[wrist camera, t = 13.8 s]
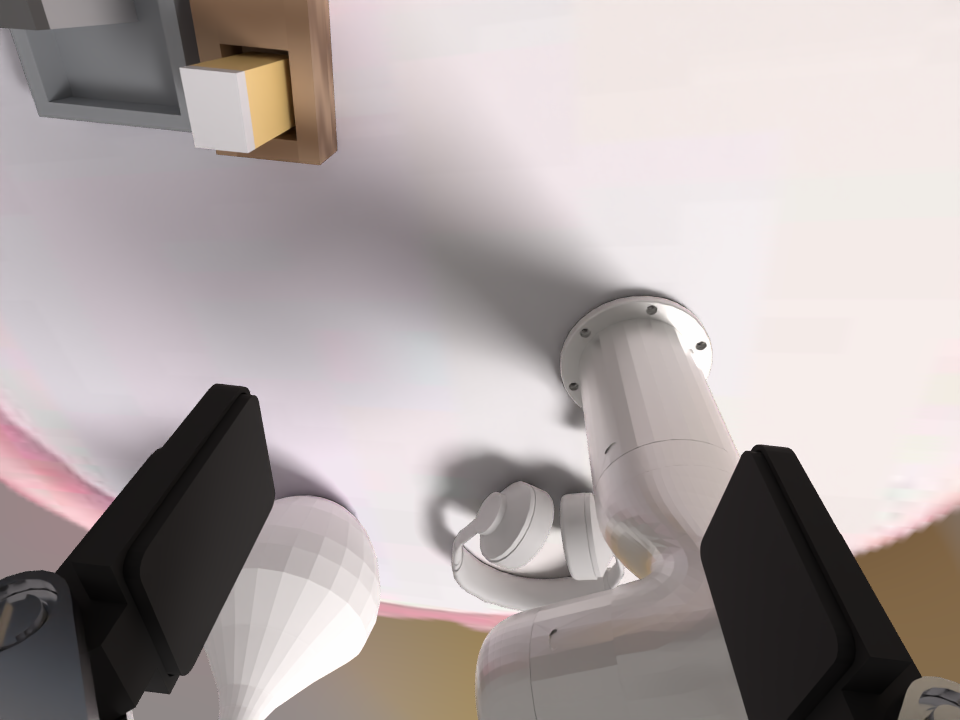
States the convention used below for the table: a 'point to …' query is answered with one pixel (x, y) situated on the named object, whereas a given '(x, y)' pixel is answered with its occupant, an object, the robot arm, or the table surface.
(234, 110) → the block
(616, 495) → the robot arm
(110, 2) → the block
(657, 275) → the table surface
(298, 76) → the block
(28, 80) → the parts tray
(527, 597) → the headphones
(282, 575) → the vase
